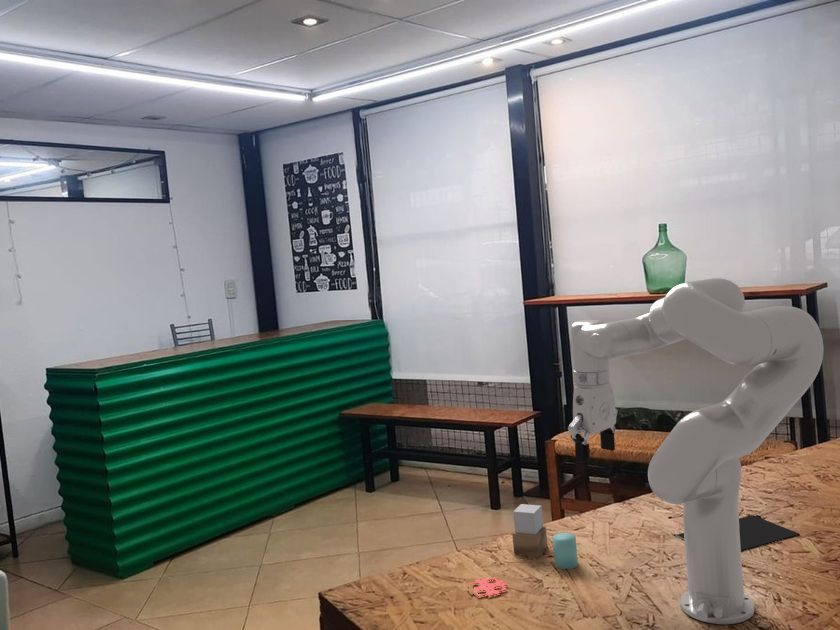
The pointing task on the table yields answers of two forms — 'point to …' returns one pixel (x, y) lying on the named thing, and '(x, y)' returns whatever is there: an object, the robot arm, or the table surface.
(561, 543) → the teal cylinder
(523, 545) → the walnut base block
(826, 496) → the table surface
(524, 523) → the grey top block
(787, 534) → the black flat plate
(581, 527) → the table surface
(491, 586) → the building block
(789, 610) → the table surface
